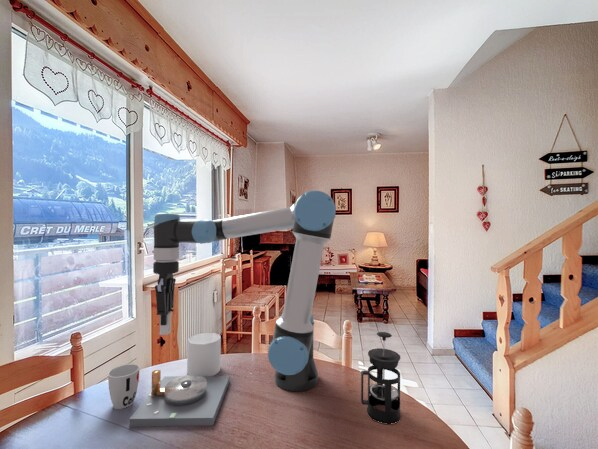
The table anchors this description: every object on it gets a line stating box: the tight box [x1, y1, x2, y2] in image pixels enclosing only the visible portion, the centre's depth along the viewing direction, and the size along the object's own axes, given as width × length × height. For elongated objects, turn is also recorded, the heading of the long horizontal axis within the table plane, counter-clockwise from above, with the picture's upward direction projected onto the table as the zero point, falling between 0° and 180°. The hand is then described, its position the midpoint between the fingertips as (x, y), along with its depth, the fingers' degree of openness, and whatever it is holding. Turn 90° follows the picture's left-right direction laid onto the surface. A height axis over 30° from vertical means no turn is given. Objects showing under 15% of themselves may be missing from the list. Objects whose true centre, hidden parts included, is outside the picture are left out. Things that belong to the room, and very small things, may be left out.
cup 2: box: [186, 332, 222, 376], centre depth 107 cm, size 12×12×12 cm
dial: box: [150, 369, 207, 405], centre depth 88 cm, size 16×12×6 cm
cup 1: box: [107, 363, 140, 410], centre depth 87 cm, size 8×8×10 cm
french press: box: [360, 331, 402, 425], centre depth 84 cm, size 12×9×23 cm
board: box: [128, 375, 231, 427], centre depth 88 cm, size 22×22×2 cm
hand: (165, 333), depth 94 cm, fingers closed
